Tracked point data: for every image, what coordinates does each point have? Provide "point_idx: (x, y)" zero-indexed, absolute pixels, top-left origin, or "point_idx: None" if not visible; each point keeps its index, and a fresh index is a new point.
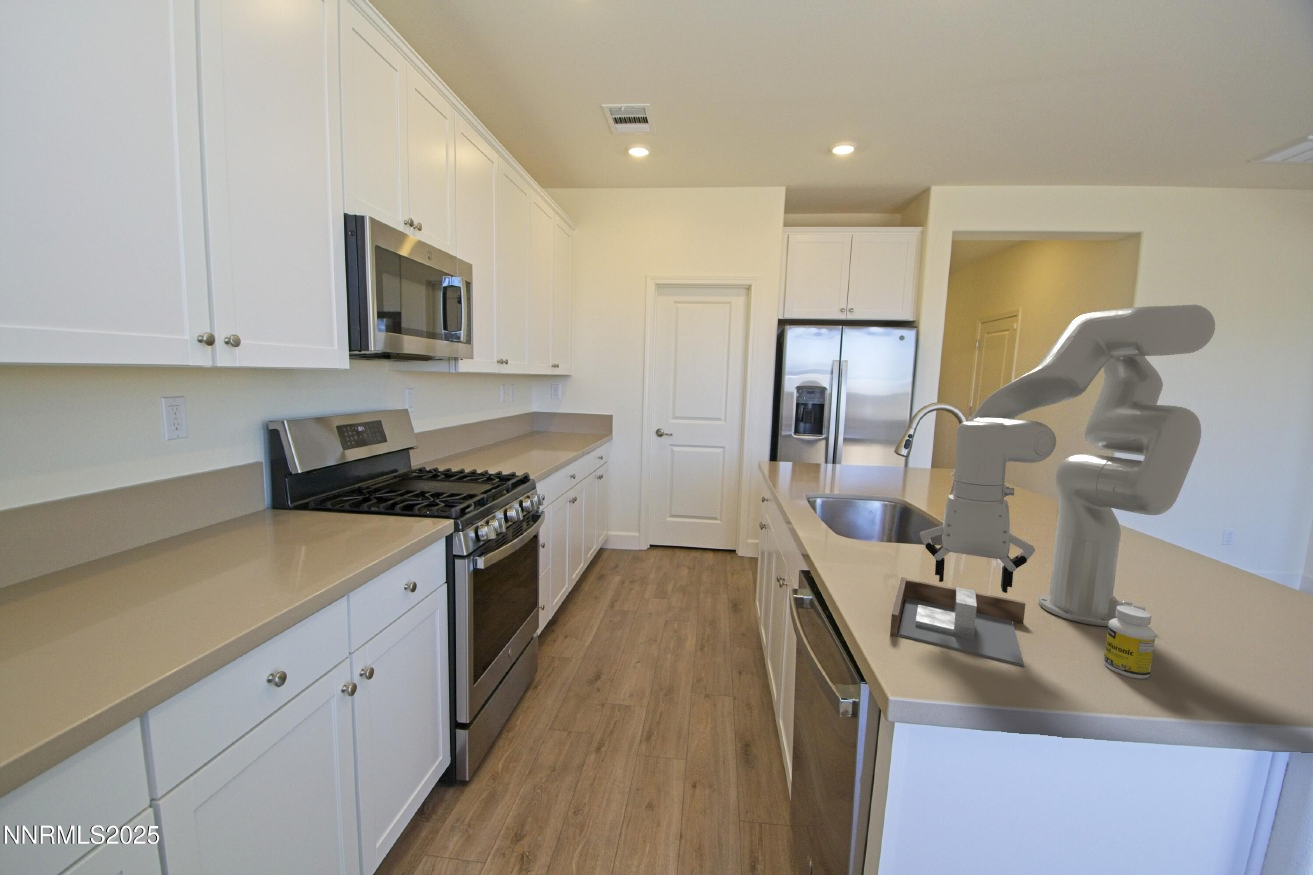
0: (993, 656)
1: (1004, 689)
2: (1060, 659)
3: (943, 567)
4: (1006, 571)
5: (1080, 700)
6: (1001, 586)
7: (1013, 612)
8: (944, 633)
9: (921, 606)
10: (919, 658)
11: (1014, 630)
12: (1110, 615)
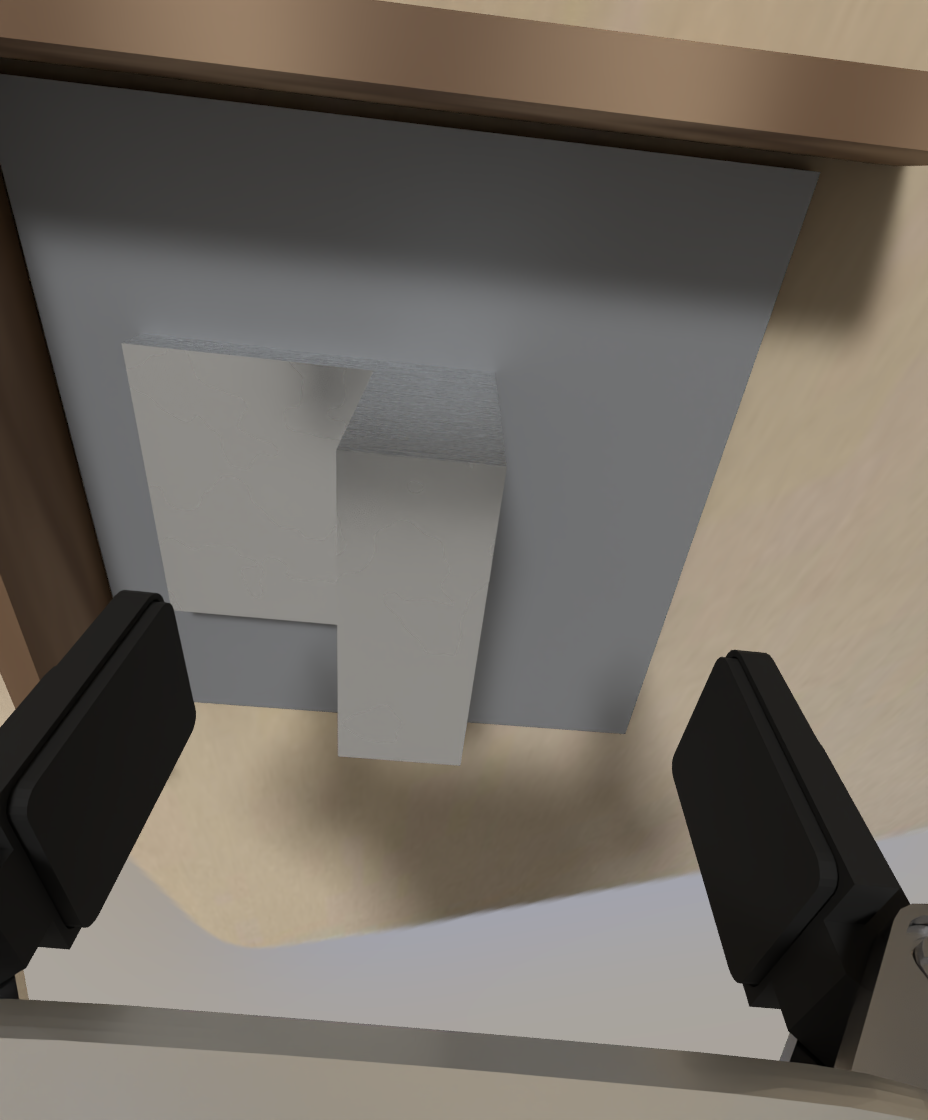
0: (518, 724)
1: (505, 857)
2: (828, 609)
3: (117, 860)
4: (760, 999)
5: None
6: (706, 706)
7: (868, 154)
8: None
9: (149, 369)
10: (256, 804)
11: (742, 389)
12: None
